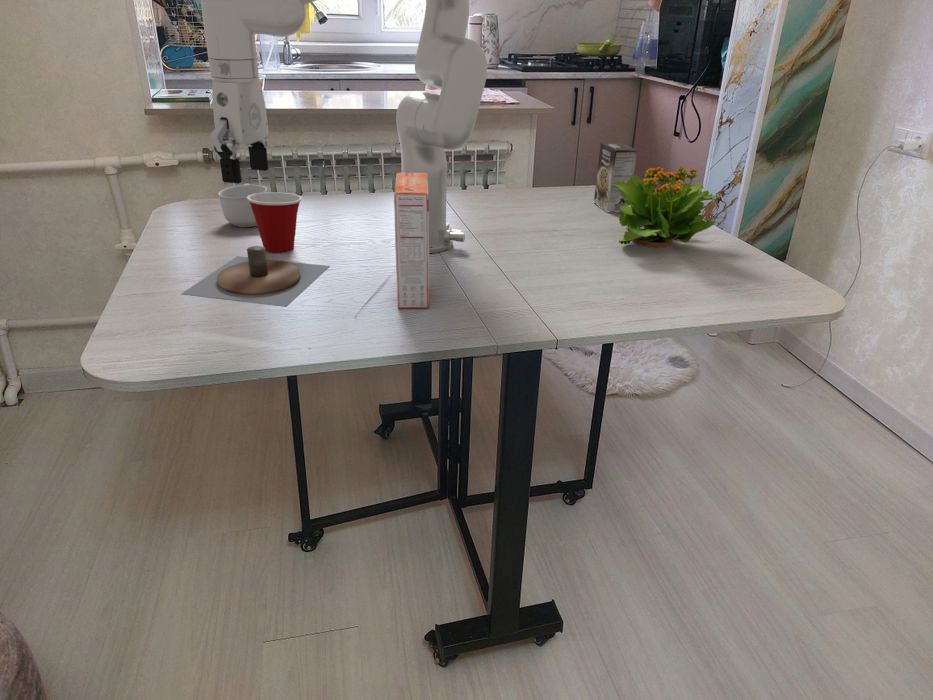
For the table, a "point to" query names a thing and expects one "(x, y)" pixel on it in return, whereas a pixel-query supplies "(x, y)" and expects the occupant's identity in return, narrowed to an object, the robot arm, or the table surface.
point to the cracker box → (412, 239)
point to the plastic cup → (276, 219)
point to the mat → (282, 298)
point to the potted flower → (662, 208)
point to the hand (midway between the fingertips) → (246, 175)
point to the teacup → (239, 204)
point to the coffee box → (613, 174)
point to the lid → (258, 275)
